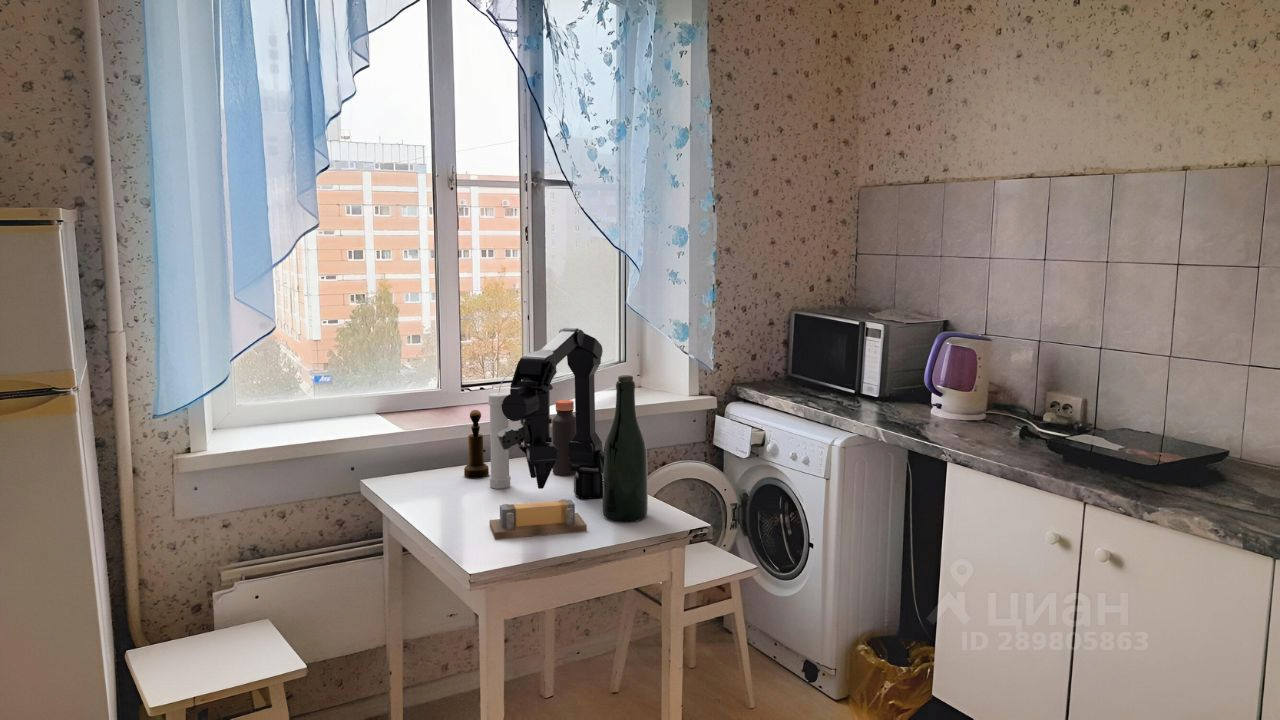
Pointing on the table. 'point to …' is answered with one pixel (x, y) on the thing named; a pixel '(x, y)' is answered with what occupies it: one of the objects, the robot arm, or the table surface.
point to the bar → (536, 513)
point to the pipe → (498, 443)
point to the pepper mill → (476, 450)
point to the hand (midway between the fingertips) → (537, 482)
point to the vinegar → (563, 435)
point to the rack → (537, 527)
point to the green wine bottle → (625, 460)
